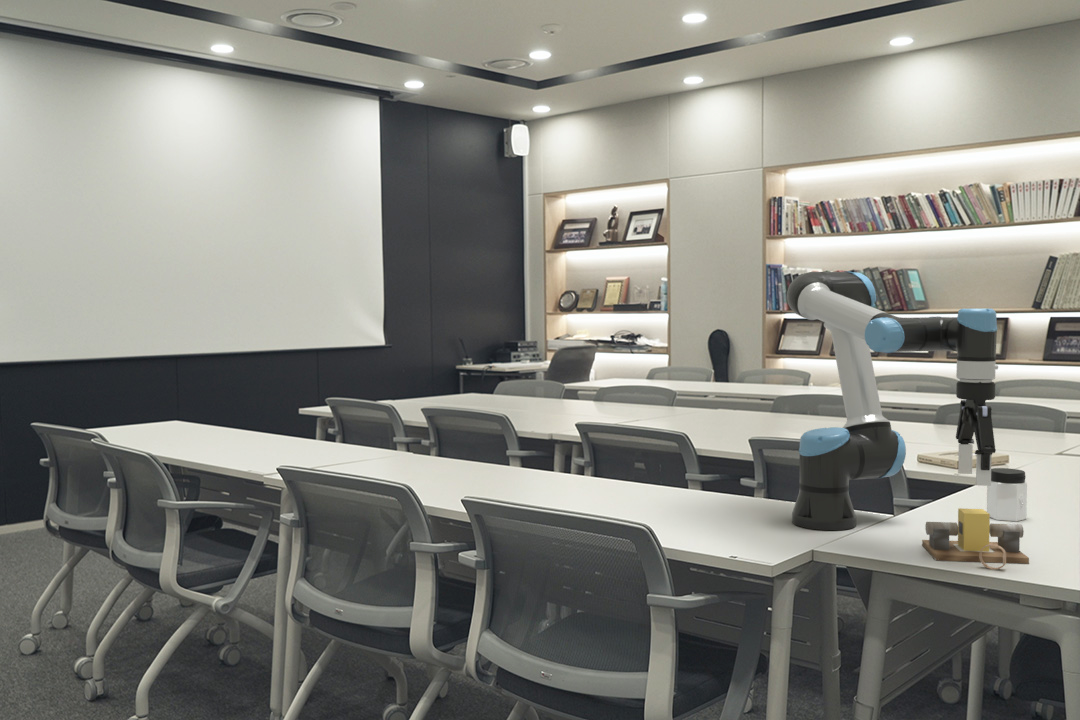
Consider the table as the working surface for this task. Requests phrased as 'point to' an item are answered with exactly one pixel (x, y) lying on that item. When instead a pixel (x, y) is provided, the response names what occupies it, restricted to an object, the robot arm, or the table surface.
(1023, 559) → the shaft base
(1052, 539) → the table surface
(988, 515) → the yellow rectangular block
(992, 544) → the rose gold watch bracelet
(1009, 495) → the jar
